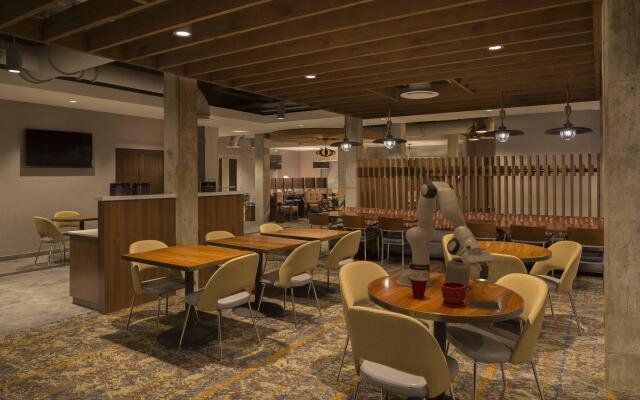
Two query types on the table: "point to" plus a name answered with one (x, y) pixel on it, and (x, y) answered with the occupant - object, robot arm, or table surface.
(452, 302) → the plant pot
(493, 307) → the mat
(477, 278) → the lid
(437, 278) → the table surface
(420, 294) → the plastic cup
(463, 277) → the jar
